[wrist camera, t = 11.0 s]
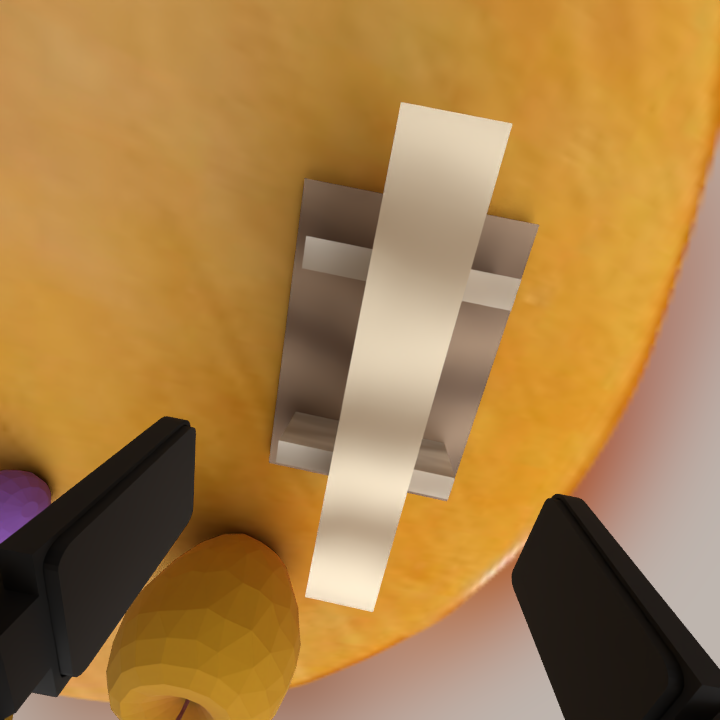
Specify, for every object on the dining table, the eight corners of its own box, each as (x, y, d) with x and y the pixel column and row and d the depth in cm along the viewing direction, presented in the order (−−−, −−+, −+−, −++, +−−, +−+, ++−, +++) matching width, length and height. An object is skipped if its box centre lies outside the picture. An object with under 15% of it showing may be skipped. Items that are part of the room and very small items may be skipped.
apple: (318, 513, 28) (275, 675, 17) (316, 623, 32) (279, 812, 21) (172, 498, 29) (41, 643, 18) (187, 607, 33) (87, 782, 22)
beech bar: (397, 149, 15) (401, 102, 11) (473, 165, 15) (512, 123, 11) (322, 523, 22) (305, 596, 17) (376, 535, 22) (372, 612, 17)
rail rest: (308, 181, 21) (285, 159, 16) (532, 226, 20) (576, 216, 16) (273, 455, 27) (248, 498, 22) (444, 492, 26) (457, 544, 22)
